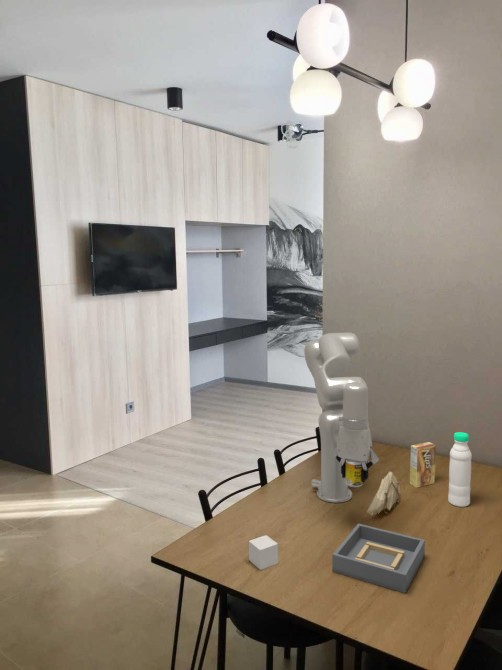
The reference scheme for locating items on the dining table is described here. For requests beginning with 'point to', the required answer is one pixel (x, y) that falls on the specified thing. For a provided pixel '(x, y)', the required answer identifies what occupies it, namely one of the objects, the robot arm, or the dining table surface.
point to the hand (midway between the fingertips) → (354, 477)
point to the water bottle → (460, 471)
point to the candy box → (422, 464)
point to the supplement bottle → (353, 473)
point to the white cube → (263, 552)
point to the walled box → (379, 557)
